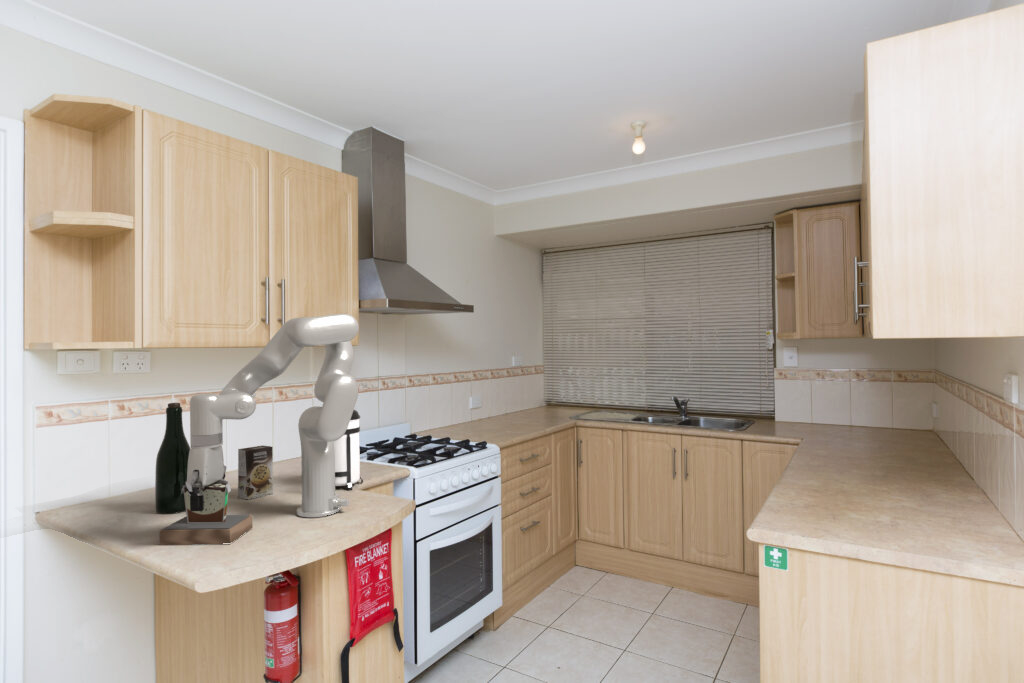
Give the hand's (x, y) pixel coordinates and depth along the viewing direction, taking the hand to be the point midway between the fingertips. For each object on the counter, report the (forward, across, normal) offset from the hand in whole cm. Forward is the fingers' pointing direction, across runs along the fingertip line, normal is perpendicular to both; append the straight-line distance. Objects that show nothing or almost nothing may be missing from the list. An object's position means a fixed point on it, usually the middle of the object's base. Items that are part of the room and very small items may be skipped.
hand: (207, 505), depth 148 cm
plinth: (+8, 0, 0) cm, 8 cm away
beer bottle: (+8, -25, -24) cm, 36 cm away
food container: (+4, -2, 0) cm, 5 cm away
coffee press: (+9, -49, +20) cm, 54 cm away
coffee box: (+8, -40, -6) cm, 41 cm away
